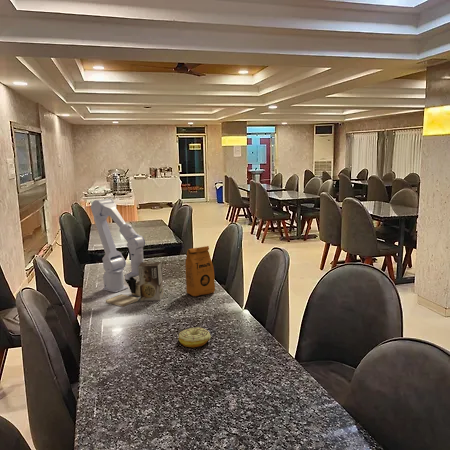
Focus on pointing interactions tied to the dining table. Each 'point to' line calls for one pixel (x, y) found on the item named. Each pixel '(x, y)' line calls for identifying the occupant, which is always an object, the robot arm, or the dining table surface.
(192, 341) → the decorated donut
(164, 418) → the dining table surface
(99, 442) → the dining table surface
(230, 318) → the dining table surface
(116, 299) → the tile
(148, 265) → the coffee box
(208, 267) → the coffee package
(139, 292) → the letter block
